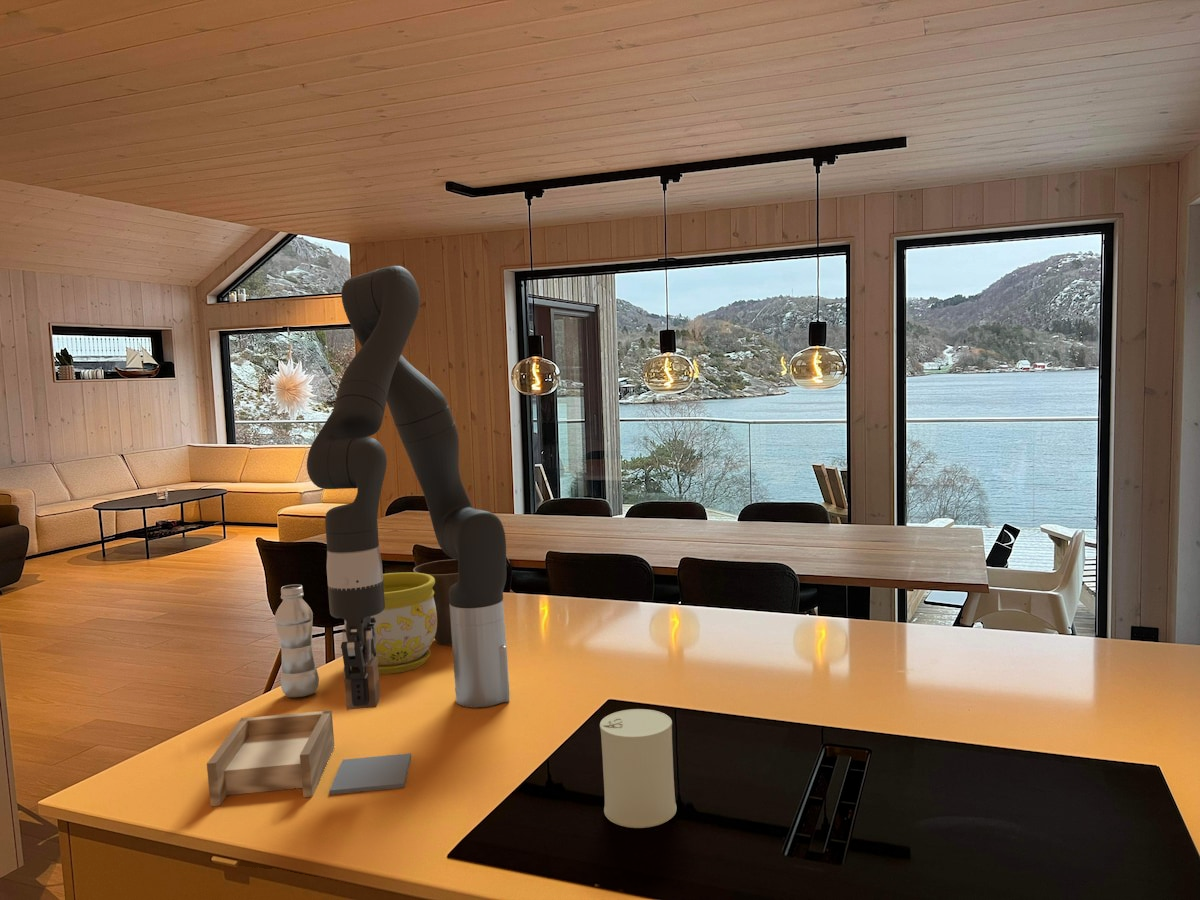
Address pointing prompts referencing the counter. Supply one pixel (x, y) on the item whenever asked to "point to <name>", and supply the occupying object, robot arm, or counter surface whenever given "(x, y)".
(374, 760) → the mat
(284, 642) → the plastic bottle
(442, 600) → the plant pot
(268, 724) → the crate
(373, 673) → the block
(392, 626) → the flowerpot
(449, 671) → the counter surface
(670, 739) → the can
